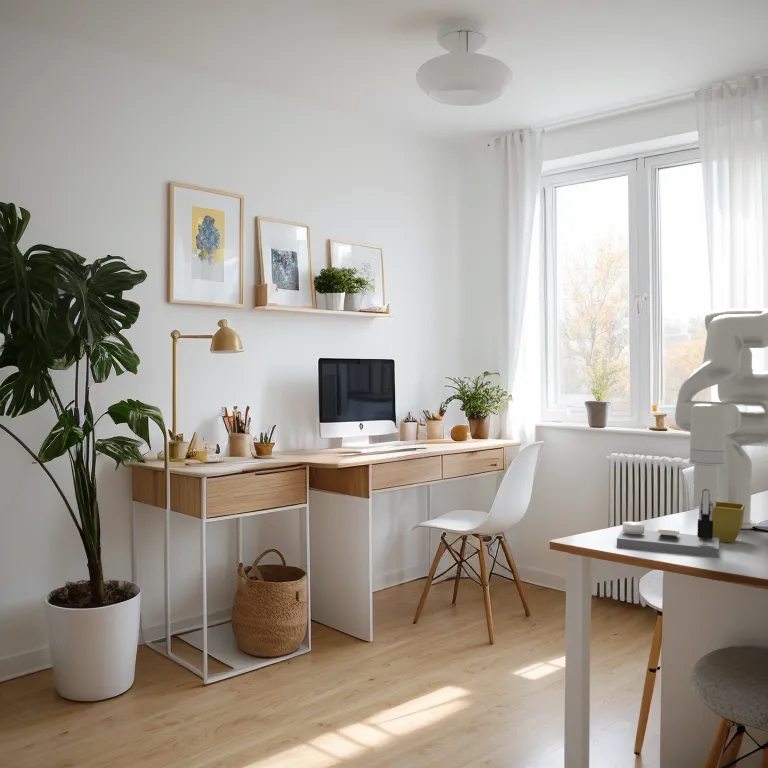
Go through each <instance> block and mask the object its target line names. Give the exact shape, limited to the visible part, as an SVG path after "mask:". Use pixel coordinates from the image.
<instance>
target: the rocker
mask: <svg viewBox="0 0 768 768" xmlns="http://www.w3.org/2000/svg"><path fill="white" fill-rule="evenodd" d="M657 531H658V533H659V534H669V535H679V533H680V529H679V530H677V529H666V528H659V529H658V530H657Z"/></svg>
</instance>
